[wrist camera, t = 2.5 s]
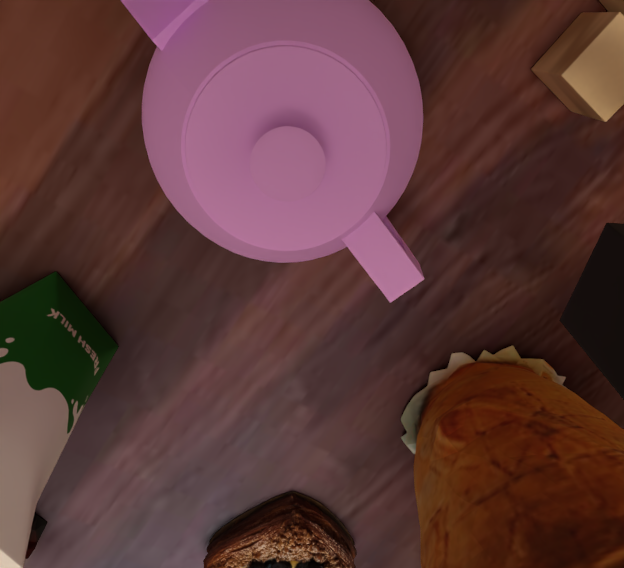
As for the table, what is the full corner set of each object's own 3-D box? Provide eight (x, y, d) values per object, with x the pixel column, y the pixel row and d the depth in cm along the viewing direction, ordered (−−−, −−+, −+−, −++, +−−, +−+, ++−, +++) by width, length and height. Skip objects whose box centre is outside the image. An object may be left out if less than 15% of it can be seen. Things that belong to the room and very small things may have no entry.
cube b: (581, 12, 32) (620, 11, 28) (622, 58, 33) (664, 63, 29) (530, 69, 33) (561, 75, 29) (571, 112, 34) (605, 123, 31)
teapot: (486, 163, 35) (579, 227, 25) (307, 308, 39) (320, 419, 28) (246, -159, 27) (228, -274, 16) (52, 64, 31) (-66, 89, 20)
